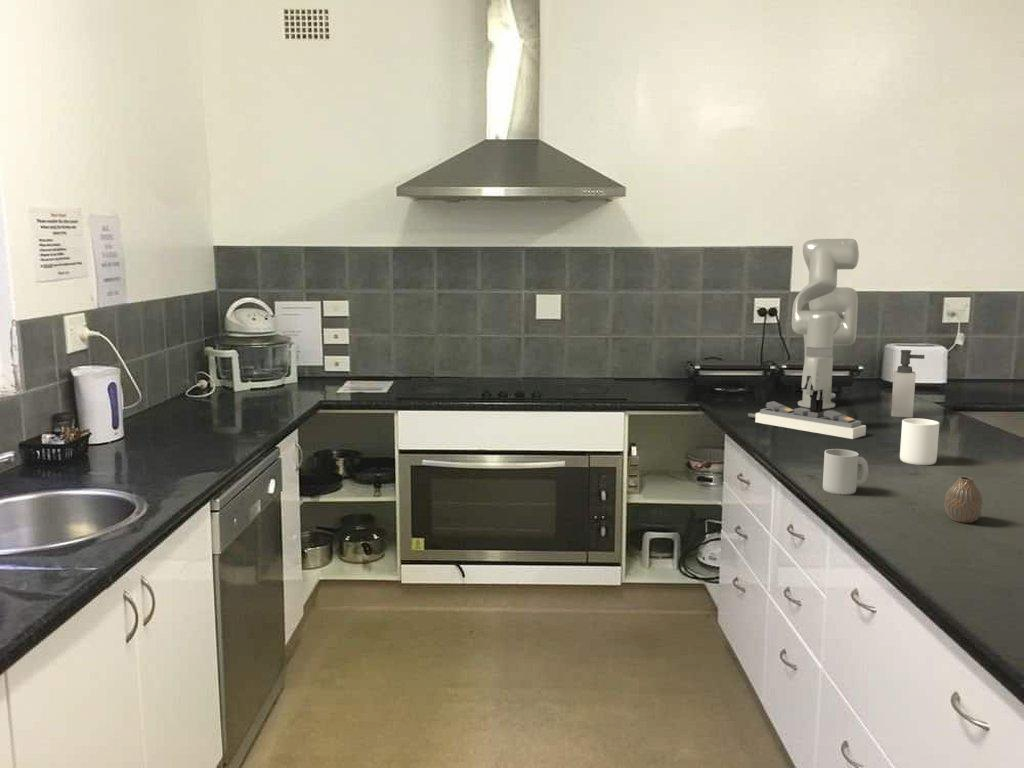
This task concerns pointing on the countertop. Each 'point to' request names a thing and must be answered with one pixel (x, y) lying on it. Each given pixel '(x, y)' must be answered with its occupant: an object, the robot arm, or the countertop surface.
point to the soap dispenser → (904, 387)
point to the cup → (843, 471)
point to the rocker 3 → (838, 416)
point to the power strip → (810, 423)
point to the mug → (919, 441)
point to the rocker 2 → (808, 412)
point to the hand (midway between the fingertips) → (816, 412)
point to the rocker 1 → (779, 407)
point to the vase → (964, 501)
